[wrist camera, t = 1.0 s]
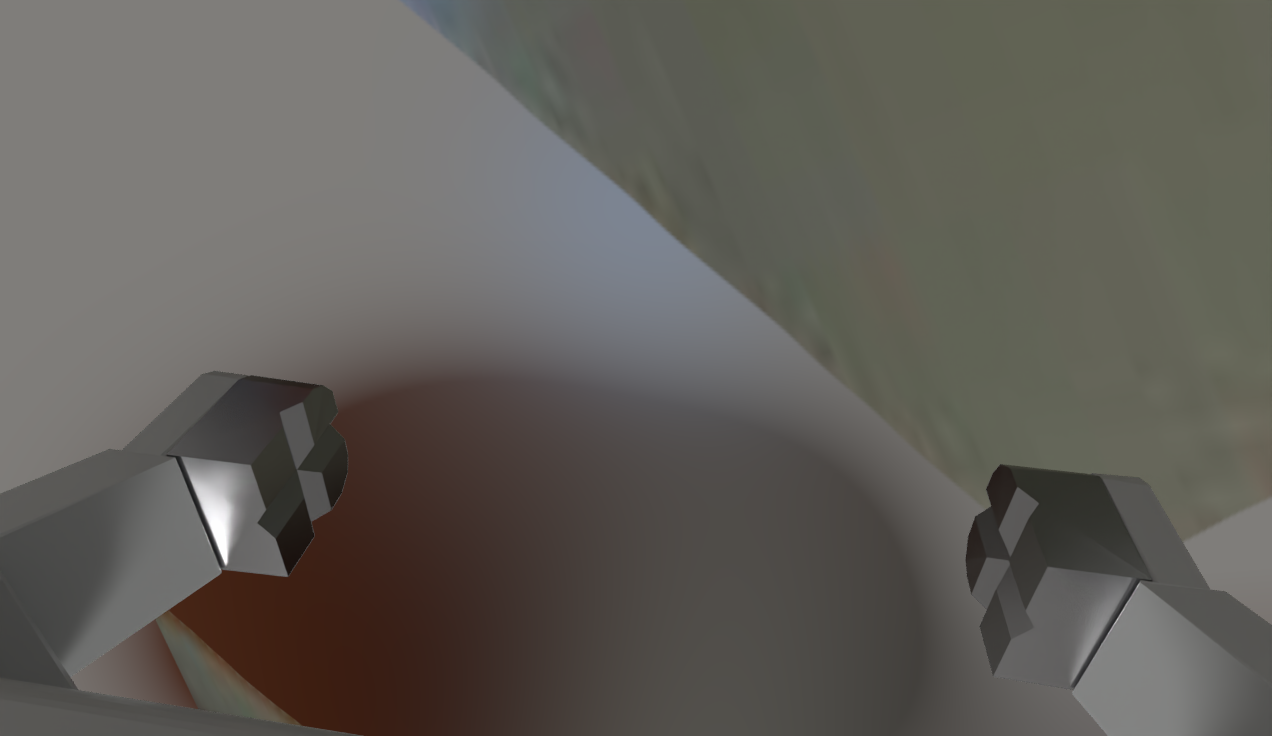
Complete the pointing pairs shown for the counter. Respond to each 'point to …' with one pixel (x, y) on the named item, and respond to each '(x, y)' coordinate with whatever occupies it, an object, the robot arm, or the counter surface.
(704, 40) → the counter surface
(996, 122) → the counter surface
